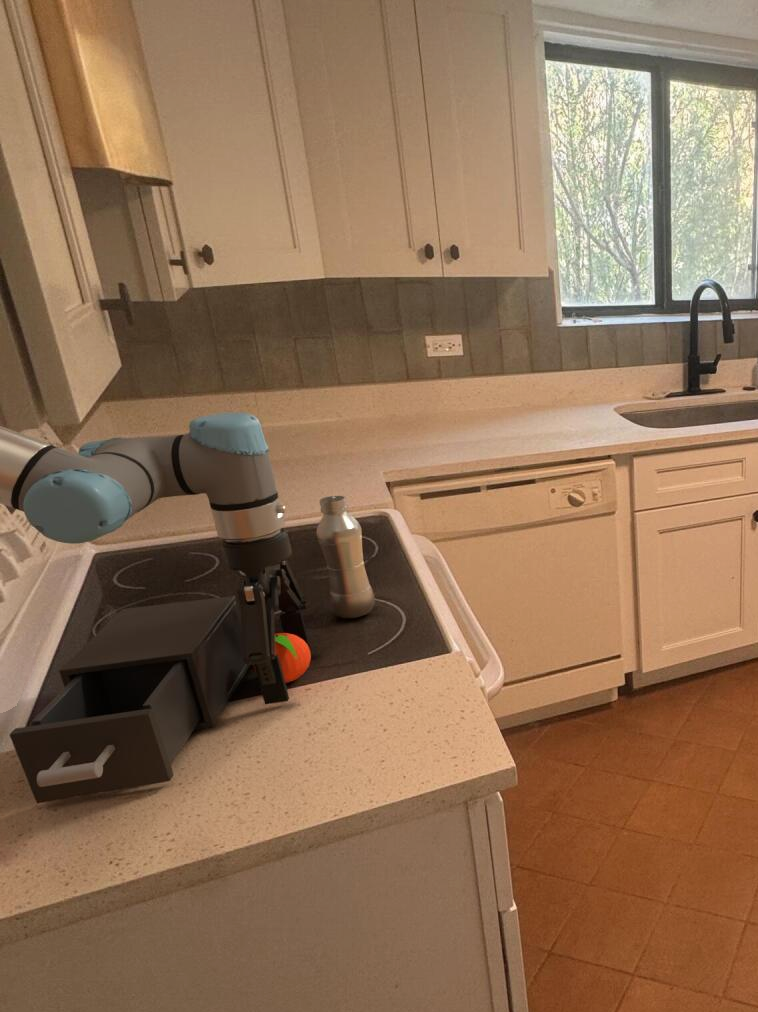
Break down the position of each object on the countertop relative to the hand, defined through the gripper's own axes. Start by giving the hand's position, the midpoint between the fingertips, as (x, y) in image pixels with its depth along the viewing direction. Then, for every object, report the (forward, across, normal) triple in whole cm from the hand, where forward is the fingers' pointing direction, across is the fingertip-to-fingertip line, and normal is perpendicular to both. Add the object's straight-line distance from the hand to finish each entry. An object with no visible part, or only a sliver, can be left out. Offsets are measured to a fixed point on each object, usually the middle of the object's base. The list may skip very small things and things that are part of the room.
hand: (289, 676), depth 109 cm
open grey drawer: (0, -16, +13) cm, 21 cm away
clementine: (+1, 0, 0) cm, 1 cm away
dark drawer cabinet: (+1, -1, +14) cm, 14 cm away
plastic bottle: (+1, +20, -5) cm, 21 cm away
